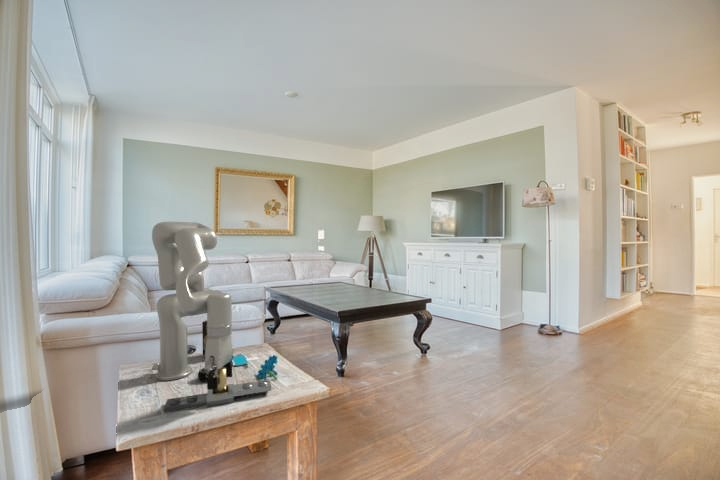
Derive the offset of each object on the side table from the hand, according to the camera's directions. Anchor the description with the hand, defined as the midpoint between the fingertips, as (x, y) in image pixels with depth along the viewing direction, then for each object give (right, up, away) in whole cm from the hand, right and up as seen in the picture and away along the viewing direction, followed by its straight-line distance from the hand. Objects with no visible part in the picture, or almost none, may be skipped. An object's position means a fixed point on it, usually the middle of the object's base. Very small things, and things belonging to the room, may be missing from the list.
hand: (220, 382), depth 114 cm
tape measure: (-11, -6, +17) cm, 21 cm away
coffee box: (-20, -6, +43) cm, 48 cm away
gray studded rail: (0, -5, 0) cm, 5 cm away
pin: (0, -6, 0) cm, 6 cm away
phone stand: (-4, -6, +37) cm, 37 cm away
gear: (+11, -6, +18) cm, 22 cm away
